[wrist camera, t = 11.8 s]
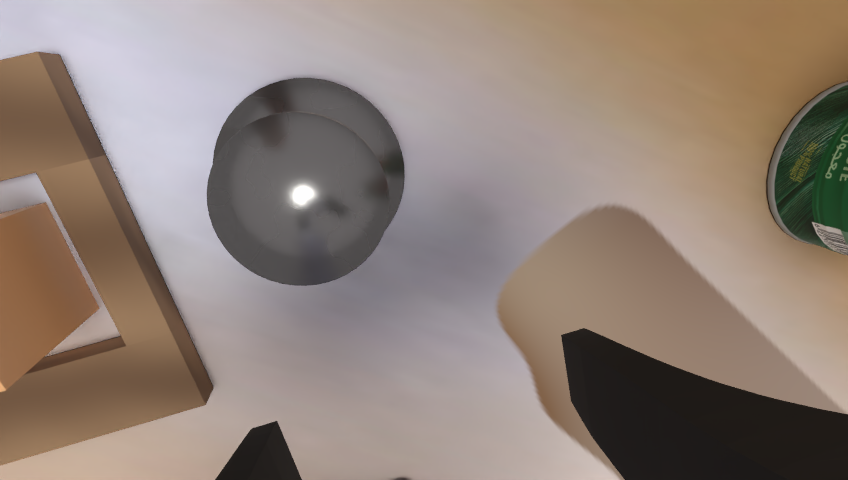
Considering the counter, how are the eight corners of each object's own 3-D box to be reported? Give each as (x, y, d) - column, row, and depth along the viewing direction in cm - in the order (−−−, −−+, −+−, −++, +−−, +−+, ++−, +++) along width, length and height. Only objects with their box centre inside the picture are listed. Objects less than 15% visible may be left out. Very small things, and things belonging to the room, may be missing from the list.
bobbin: (418, 230, 20) (446, 279, 14) (256, 274, 19) (223, 343, 14) (376, 59, 17) (390, 44, 12) (190, 104, 17) (121, 108, 12)
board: (213, 387, 20) (205, 404, 19) (2, 449, 20) (-19, 471, 19) (59, 55, 16) (37, 51, 15) (-224, 119, 15) (-271, 121, 14)
